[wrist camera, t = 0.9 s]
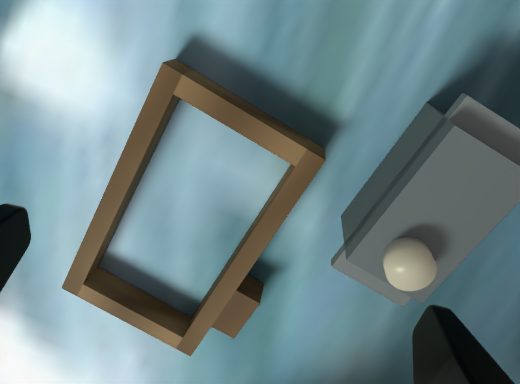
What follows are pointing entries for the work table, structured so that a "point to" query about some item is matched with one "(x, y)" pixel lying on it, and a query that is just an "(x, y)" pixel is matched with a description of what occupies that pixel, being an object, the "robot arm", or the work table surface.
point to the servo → (431, 201)
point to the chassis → (248, 251)
